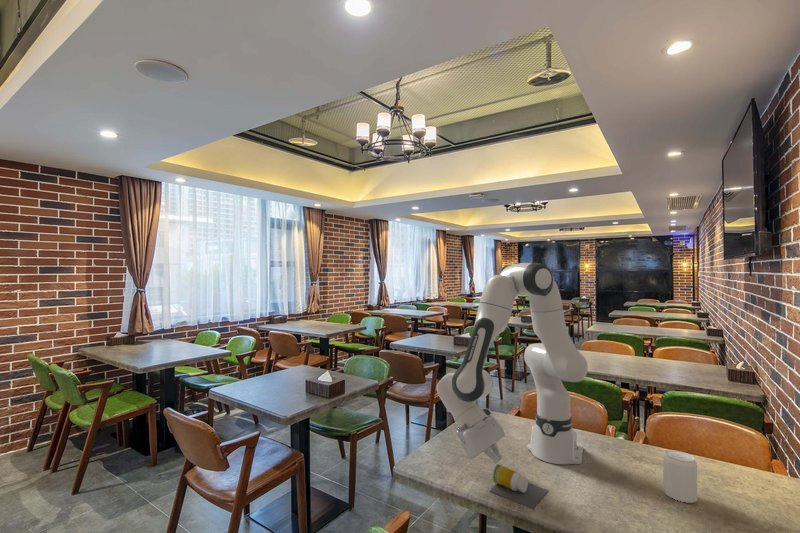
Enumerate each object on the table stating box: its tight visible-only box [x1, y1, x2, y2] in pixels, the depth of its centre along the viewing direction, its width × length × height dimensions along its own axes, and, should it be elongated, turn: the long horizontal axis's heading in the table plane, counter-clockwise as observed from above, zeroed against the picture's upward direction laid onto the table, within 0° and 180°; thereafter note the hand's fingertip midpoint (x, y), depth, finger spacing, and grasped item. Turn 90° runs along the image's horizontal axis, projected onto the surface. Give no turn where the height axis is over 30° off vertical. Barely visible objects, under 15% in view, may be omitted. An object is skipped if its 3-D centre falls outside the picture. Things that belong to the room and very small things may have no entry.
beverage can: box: [662, 449, 698, 504], centre depth 114 cm, size 8×8×12 cm
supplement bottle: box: [491, 463, 529, 492], centre depth 116 cm, size 5×5×10 cm
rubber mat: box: [489, 482, 549, 510], centre depth 114 cm, size 12×13×1 cm
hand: (499, 460), depth 119 cm, fingers closed
